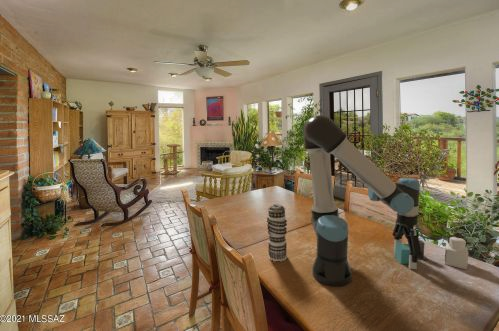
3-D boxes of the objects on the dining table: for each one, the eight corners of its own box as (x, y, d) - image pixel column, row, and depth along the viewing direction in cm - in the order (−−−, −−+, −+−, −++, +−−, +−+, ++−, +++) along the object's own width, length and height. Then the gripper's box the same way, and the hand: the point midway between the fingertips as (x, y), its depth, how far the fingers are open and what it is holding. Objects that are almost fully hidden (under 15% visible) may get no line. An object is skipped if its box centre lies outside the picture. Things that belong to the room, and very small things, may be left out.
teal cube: (400, 263, 105) (401, 249, 104) (394, 257, 111) (395, 243, 110) (414, 264, 105) (415, 250, 104) (407, 257, 110) (408, 243, 109)
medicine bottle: (444, 257, 109) (447, 232, 108) (466, 262, 105) (468, 236, 103) (444, 264, 104) (446, 238, 102) (466, 270, 99) (469, 242, 98)
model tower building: (263, 257, 114) (262, 206, 111) (275, 250, 121) (274, 201, 118) (279, 264, 108) (278, 210, 105) (291, 256, 115) (290, 205, 111)
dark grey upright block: (415, 259, 109) (416, 244, 108) (409, 253, 113) (410, 239, 112) (427, 259, 108) (429, 244, 107) (421, 253, 113) (422, 239, 112)
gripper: (434, 224, 92) (430, 277, 95) (402, 205, 116) (400, 247, 119) (413, 224, 93) (410, 276, 96) (385, 205, 117) (383, 246, 120)
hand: (404, 260), depth 108 cm, fingers open, 12 cm apart
